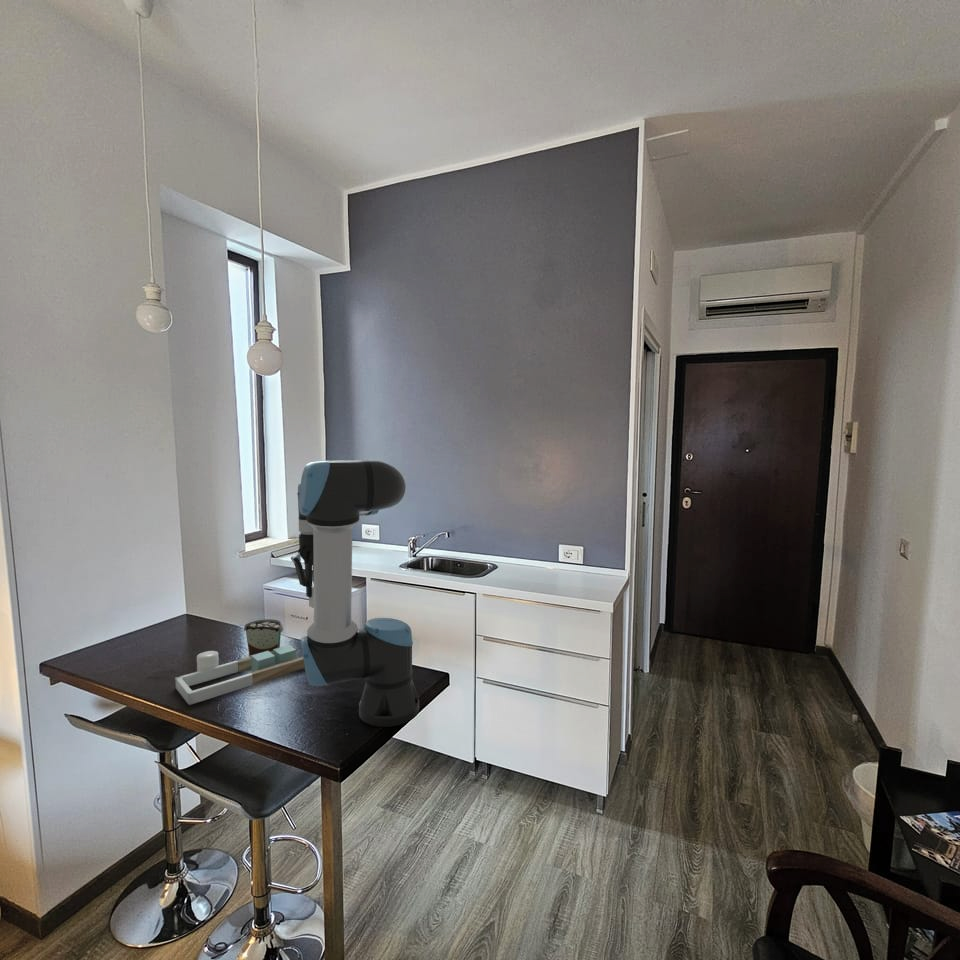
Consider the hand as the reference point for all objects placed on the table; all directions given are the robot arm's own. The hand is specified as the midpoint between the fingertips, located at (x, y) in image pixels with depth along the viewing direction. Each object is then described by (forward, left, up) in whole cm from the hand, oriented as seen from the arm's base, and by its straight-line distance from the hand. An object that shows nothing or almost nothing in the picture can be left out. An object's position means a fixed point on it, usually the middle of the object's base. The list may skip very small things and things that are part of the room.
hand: (313, 606), depth 167 cm
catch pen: (0, +29, -16) cm, 33 cm away
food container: (+13, +10, -16) cm, 23 cm away
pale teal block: (0, +10, -16) cm, 19 cm away
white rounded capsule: (+9, +29, -16) cm, 34 cm away
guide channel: (0, +13, -16) cm, 21 cm away
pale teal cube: (0, +16, -16) cm, 23 cm away
